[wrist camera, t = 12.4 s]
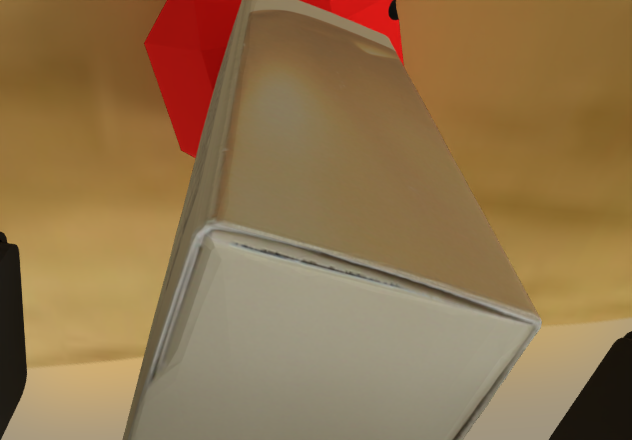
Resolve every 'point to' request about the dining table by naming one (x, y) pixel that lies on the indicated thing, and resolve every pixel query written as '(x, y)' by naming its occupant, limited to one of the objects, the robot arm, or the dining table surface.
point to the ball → (209, 49)
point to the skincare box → (326, 255)
